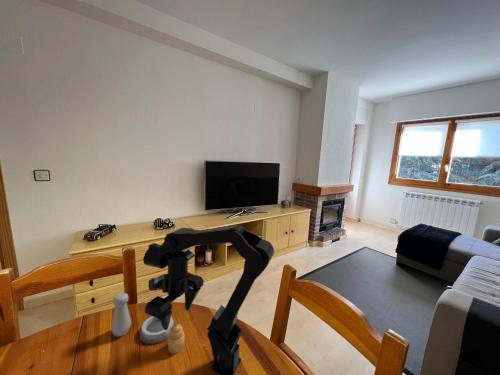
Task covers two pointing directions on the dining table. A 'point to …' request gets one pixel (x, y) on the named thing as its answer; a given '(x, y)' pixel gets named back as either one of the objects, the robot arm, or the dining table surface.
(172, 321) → the grey shallow dish
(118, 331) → the salt shaker
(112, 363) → the dining table surface
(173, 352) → the beige tiered cylinder
